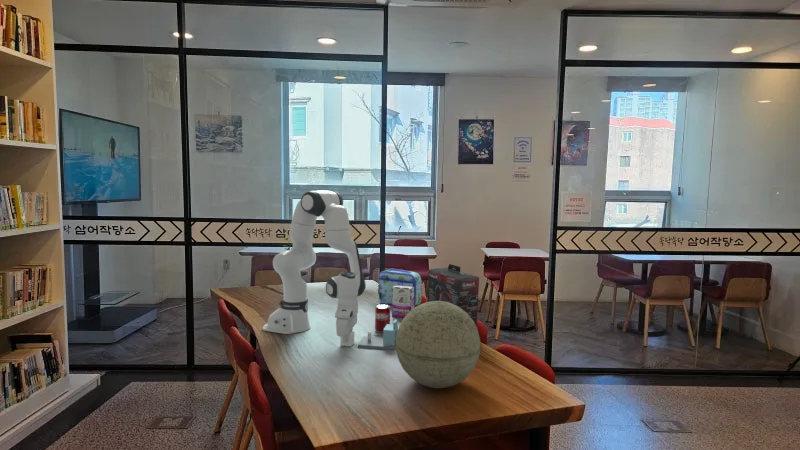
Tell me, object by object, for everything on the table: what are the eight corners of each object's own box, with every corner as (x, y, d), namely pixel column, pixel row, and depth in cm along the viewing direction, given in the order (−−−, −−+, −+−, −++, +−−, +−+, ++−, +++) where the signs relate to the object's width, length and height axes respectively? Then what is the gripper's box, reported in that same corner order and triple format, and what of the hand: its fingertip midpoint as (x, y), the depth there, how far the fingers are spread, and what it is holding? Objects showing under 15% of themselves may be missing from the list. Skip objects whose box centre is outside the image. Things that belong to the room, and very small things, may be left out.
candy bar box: (414, 316, 247) (414, 286, 245) (410, 319, 242) (411, 288, 241) (395, 314, 251) (395, 284, 249) (391, 316, 246) (391, 286, 245)
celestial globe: (417, 411, 145) (419, 318, 142) (382, 374, 172) (383, 295, 170) (496, 395, 157) (499, 309, 154) (452, 362, 184) (454, 289, 182)
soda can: (388, 333, 219) (388, 308, 217) (373, 332, 220) (373, 307, 219) (391, 328, 226) (391, 304, 225) (377, 327, 227) (377, 303, 226)
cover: (383, 344, 199) (383, 323, 198) (386, 338, 207) (387, 317, 206) (394, 345, 198) (394, 323, 198) (397, 339, 206) (397, 318, 206)
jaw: (340, 345, 201) (340, 334, 200) (343, 341, 206) (343, 330, 205) (351, 346, 200) (351, 335, 200) (354, 342, 205) (354, 331, 205)
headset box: (478, 338, 213) (480, 268, 210) (457, 343, 207) (459, 271, 204) (445, 324, 234) (447, 260, 231) (425, 328, 227) (427, 262, 224)
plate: (357, 347, 200) (357, 335, 199) (363, 338, 211) (363, 327, 210) (393, 350, 197) (393, 338, 197) (398, 341, 208) (398, 330, 208)
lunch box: (375, 303, 272) (376, 268, 270) (385, 299, 281) (386, 265, 280) (413, 310, 259) (414, 273, 257) (422, 306, 268) (423, 270, 266)
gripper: (347, 302, 212) (347, 331, 214) (333, 315, 192) (333, 347, 193) (360, 303, 211) (360, 332, 212) (348, 316, 191) (347, 348, 192)
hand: (347, 339), depth 203 cm, fingers closed on jaw, 5 cm apart
